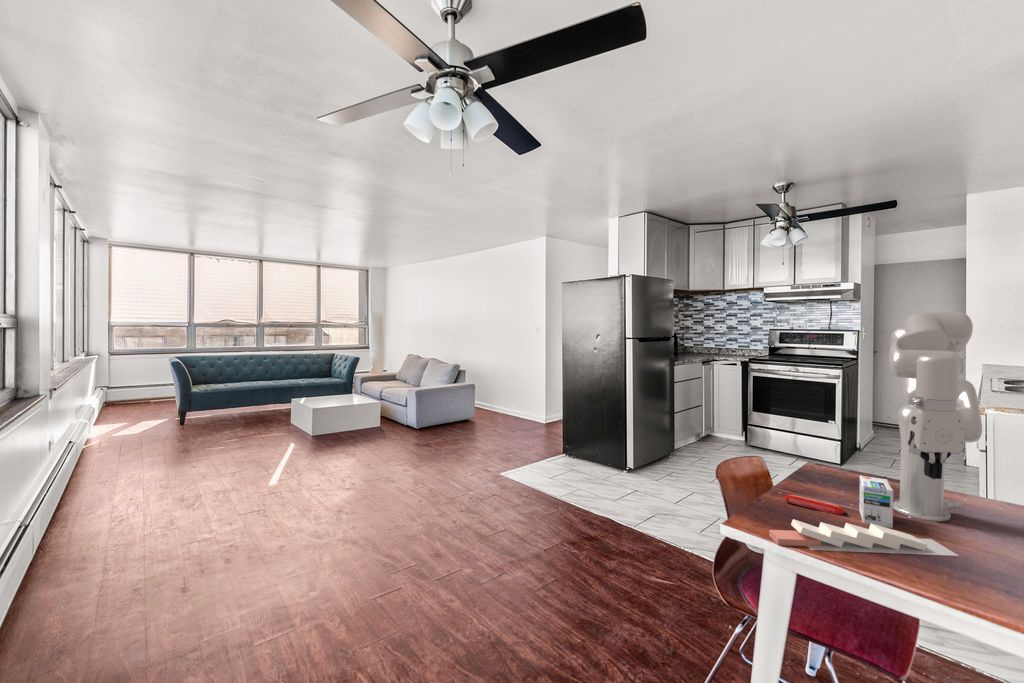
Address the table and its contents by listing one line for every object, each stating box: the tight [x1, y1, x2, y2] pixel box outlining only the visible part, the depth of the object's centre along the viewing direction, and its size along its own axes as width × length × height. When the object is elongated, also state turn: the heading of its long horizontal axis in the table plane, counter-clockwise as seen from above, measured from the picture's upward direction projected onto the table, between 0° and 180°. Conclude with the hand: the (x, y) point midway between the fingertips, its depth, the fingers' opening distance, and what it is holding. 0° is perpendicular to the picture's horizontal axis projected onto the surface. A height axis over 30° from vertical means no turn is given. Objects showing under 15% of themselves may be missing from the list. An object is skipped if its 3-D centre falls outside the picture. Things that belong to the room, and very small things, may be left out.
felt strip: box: [806, 537, 960, 557], centre depth 116 cm, size 33×8×1 cm, turn 83°
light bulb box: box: [858, 475, 894, 529], centre depth 130 cm, size 11×7×11 cm, turn 148°
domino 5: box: [868, 523, 927, 551], centre depth 115 cm, size 2×5×10 cm
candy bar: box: [783, 494, 847, 515], centre depth 138 cm, size 16×4×3 cm, turn 43°
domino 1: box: [768, 529, 821, 547], centre depth 118 cm, size 2×5×10 cm
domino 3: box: [818, 521, 873, 549], centre depth 116 cm, size 2×5×10 cm
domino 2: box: [790, 519, 844, 547], centre depth 117 cm, size 2×5×10 cm
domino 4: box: [843, 522, 900, 550], centre depth 115 cm, size 2×5×10 cm
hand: (932, 476), depth 115 cm, fingers closed
